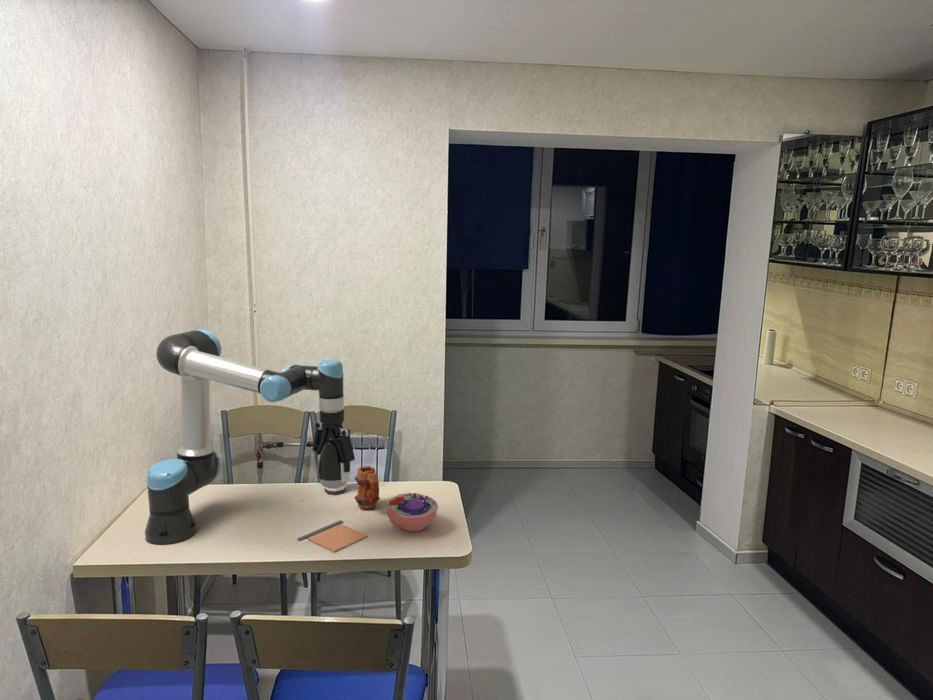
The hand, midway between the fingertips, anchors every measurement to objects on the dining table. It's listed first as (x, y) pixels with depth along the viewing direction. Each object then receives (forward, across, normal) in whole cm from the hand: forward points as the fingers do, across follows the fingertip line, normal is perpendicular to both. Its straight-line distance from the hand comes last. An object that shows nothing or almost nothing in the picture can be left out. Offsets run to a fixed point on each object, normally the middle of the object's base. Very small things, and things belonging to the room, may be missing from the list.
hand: (333, 477), depth 208 cm
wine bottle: (+20, +29, -25) cm, 44 cm away
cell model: (+21, -14, -21) cm, 33 cm away
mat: (+20, -2, 0) cm, 20 cm away
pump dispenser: (+3, 0, 0) cm, 3 cm away
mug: (+21, +7, -22) cm, 31 cm away
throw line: (+20, +7, 0) cm, 21 cm away
